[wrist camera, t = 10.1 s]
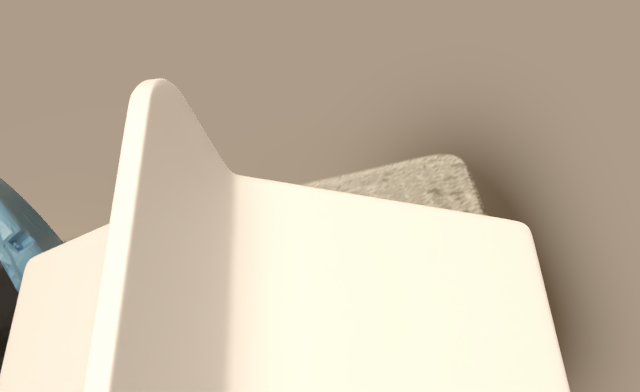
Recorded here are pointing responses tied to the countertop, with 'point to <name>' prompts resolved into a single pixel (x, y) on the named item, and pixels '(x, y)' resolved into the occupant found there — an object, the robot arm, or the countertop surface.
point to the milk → (275, 286)
